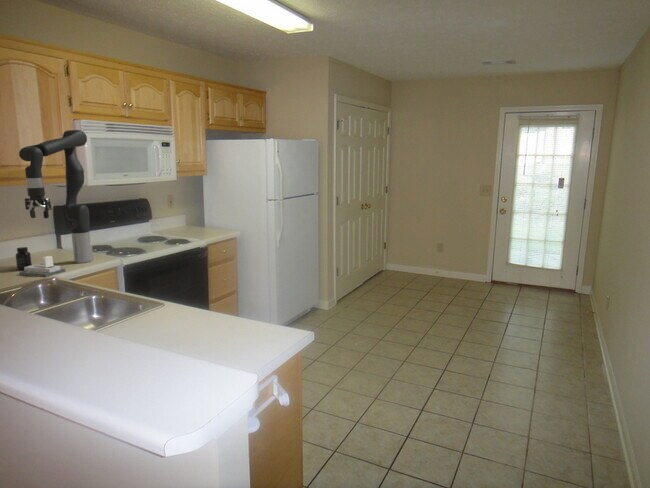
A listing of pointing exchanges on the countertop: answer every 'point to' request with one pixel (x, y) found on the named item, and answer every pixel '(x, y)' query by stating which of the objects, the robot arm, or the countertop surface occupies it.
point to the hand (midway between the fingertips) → (39, 218)
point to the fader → (47, 262)
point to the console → (41, 270)
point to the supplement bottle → (23, 258)
